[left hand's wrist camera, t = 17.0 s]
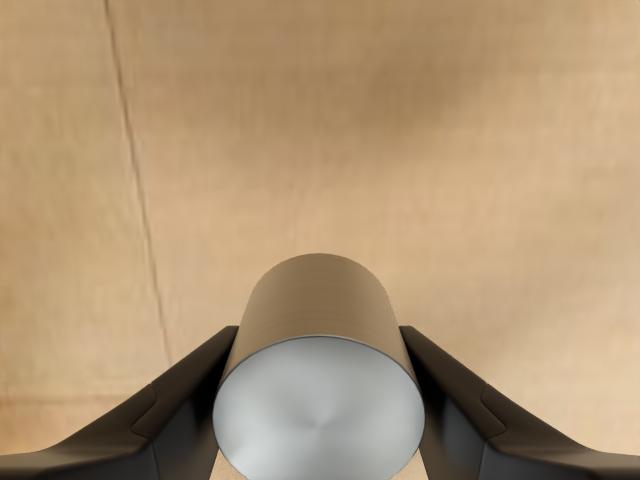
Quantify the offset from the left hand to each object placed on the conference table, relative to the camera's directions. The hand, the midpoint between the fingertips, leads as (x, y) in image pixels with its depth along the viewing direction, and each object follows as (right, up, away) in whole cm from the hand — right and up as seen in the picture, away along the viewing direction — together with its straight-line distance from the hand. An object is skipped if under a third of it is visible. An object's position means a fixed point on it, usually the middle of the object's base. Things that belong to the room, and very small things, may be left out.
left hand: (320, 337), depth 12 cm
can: (0, 0, +1) cm, 1 cm away
